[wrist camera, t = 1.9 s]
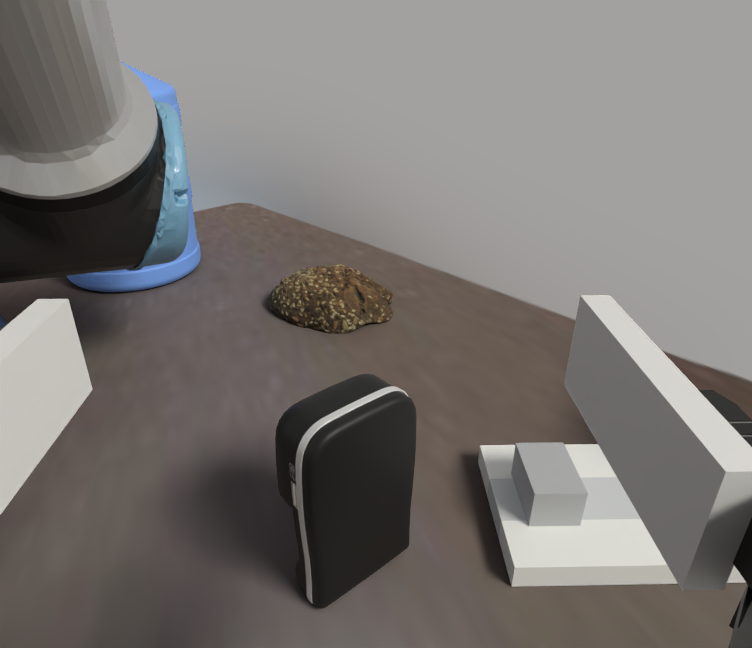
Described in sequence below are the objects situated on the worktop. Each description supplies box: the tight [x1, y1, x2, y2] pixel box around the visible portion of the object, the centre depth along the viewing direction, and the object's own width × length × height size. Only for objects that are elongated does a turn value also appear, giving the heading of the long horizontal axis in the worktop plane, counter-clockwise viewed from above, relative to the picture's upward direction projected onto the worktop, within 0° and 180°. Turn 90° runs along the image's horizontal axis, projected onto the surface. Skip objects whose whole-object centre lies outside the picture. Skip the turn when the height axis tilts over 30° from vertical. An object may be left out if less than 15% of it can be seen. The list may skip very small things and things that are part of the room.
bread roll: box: [269, 264, 393, 334], centre depth 61 cm, size 13×12×5 cm
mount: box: [478, 442, 746, 587], centre depth 33 cm, size 10×20×12 cm, turn 91°
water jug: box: [67, 62, 201, 292], centre depth 65 cm, size 16×16×28 cm
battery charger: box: [275, 374, 416, 608], centre depth 30 cm, size 7×4×11 cm, turn 131°
